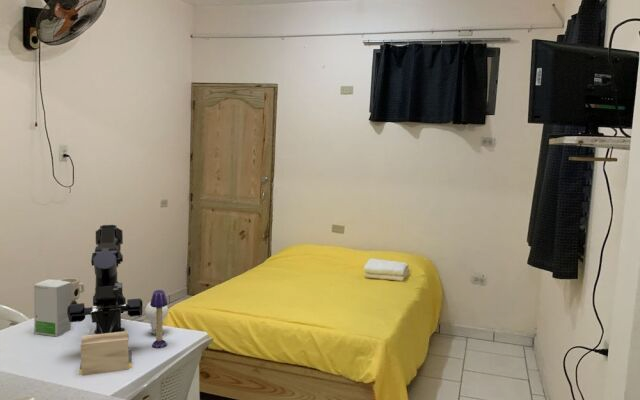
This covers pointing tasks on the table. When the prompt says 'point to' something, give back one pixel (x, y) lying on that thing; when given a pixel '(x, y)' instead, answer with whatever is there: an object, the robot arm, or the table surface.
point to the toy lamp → (159, 316)
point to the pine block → (104, 352)
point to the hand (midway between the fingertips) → (105, 339)
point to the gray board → (129, 362)
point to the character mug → (74, 288)
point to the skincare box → (52, 307)
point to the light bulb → (154, 316)
